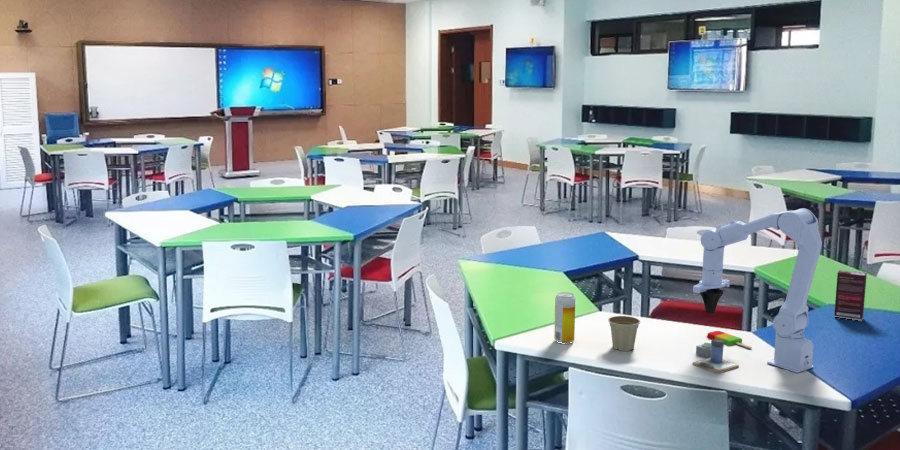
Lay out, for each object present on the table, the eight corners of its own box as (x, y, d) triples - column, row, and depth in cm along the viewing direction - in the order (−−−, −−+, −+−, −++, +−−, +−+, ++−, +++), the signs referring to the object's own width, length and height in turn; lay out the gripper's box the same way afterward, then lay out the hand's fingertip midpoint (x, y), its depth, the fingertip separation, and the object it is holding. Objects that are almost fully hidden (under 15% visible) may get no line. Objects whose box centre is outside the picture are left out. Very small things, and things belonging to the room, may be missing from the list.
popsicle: (717, 335, 244) (718, 329, 243) (757, 349, 231) (757, 343, 231) (705, 338, 241) (705, 332, 241) (744, 352, 228) (745, 346, 228)
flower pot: (600, 345, 234) (601, 317, 232) (626, 341, 237) (627, 314, 236) (619, 354, 225) (620, 326, 224) (645, 350, 229) (646, 322, 227)
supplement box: (863, 318, 260) (867, 272, 257) (861, 322, 256) (866, 275, 253) (834, 314, 264) (838, 269, 261) (833, 317, 260) (837, 272, 257)
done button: (712, 350, 225) (712, 344, 225) (707, 351, 224) (708, 345, 223) (706, 348, 227) (707, 342, 226) (702, 349, 225) (702, 343, 225)
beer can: (578, 341, 237) (579, 294, 234) (566, 346, 233) (568, 298, 230) (561, 337, 241) (562, 290, 238) (550, 341, 237) (551, 294, 234)
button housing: (718, 355, 225) (718, 347, 224) (708, 357, 222) (708, 350, 222) (705, 350, 228) (706, 343, 228) (695, 353, 226) (696, 345, 226)
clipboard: (738, 367, 215) (738, 363, 215) (717, 373, 210) (718, 369, 210) (713, 358, 222) (713, 354, 222) (692, 364, 217) (692, 360, 217)
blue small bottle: (725, 362, 217) (726, 342, 215) (717, 364, 215) (718, 344, 214) (715, 358, 219) (716, 338, 218) (707, 361, 218) (708, 340, 216)
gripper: (717, 263, 237) (714, 305, 240) (685, 269, 230) (683, 313, 232) (736, 267, 232) (733, 311, 234) (705, 274, 224) (702, 319, 226)
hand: (709, 312), depth 233 cm, fingers closed
